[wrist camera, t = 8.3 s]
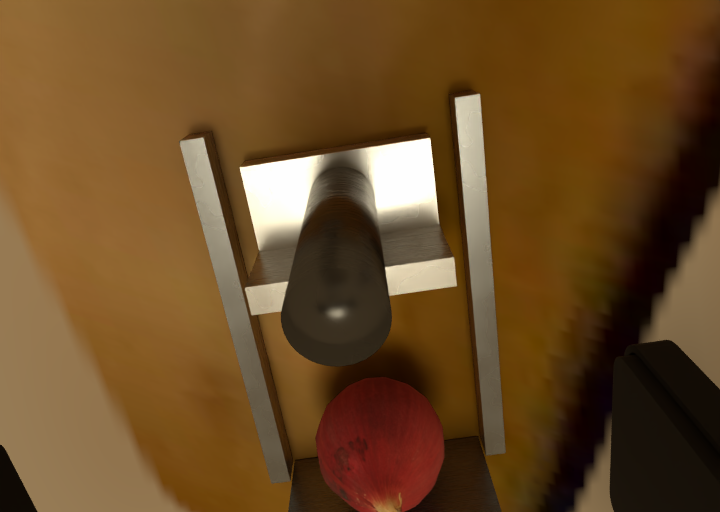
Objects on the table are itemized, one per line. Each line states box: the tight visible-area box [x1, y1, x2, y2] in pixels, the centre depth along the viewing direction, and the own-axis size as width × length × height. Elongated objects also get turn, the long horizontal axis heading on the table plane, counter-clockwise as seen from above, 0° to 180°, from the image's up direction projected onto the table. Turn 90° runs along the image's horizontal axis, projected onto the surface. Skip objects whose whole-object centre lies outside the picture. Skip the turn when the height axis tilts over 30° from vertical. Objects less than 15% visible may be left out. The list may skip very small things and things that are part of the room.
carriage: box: [240, 133, 457, 366], centre depth 20 cm, size 5×8×12 cm, turn 99°
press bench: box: [179, 90, 506, 512], centre depth 25 cm, size 20×12×7 cm, turn 9°
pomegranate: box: [316, 377, 444, 512], centre depth 26 cm, size 6×6×8 cm
